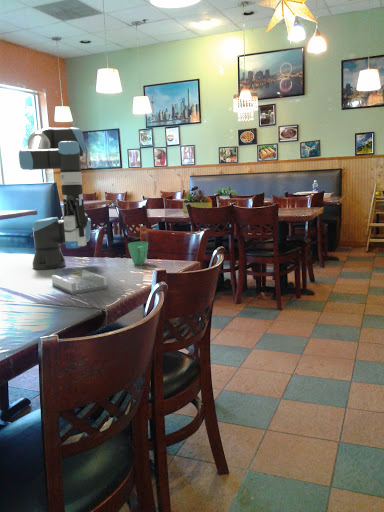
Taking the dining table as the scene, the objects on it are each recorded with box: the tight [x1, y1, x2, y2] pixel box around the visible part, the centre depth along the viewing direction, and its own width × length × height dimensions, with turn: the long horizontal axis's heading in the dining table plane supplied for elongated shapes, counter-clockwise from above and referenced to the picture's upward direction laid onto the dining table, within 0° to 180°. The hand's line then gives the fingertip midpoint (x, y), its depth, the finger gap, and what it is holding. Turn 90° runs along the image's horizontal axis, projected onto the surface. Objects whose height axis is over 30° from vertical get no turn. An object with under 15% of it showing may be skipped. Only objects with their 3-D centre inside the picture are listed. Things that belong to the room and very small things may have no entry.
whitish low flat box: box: [51, 269, 109, 295], centre depth 172 cm, size 20×14×4 cm
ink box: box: [62, 215, 87, 249], centre depth 168 cm, size 8×5×12 cm, turn 168°
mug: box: [127, 241, 149, 266], centre depth 212 cm, size 15×10×10 cm
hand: (76, 244), depth 169 cm, fingers closed on ink box, 9 cm apart
